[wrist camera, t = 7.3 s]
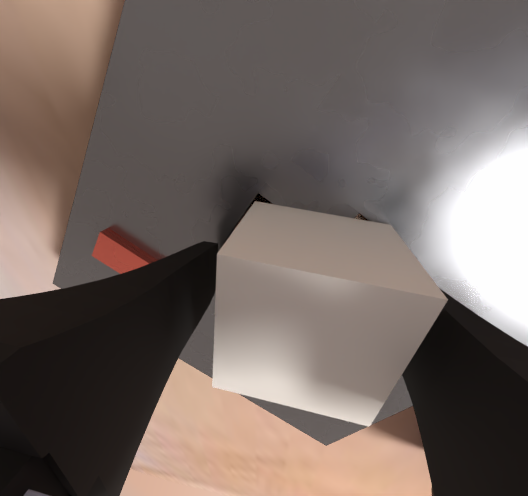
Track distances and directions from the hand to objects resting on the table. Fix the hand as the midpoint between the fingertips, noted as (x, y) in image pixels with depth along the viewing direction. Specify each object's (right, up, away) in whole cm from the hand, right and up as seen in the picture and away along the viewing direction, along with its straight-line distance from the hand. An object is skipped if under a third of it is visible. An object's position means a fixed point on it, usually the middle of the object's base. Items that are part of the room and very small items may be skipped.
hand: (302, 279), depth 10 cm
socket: (+1, +1, +3) cm, 3 cm away
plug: (+1, +1, +2) cm, 3 cm away
